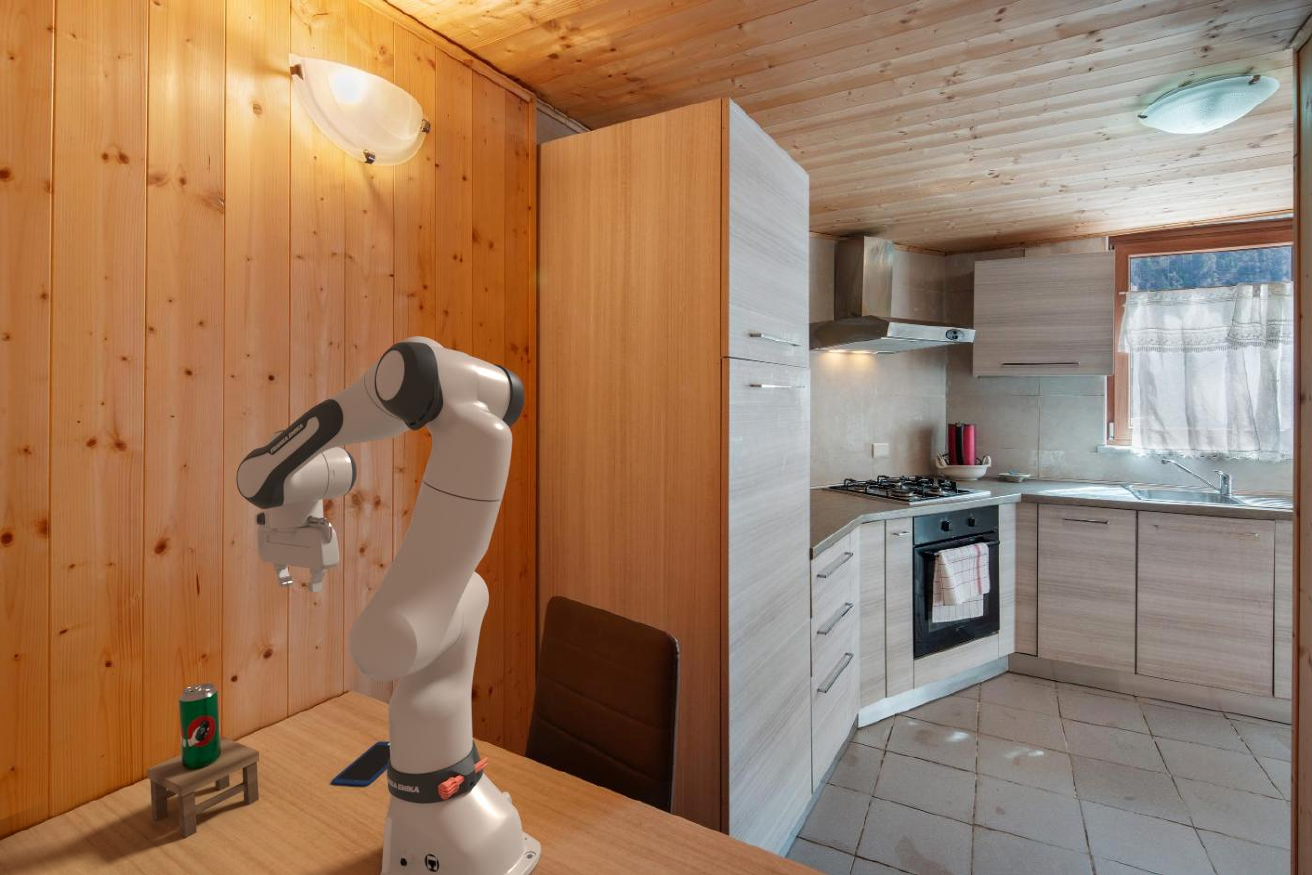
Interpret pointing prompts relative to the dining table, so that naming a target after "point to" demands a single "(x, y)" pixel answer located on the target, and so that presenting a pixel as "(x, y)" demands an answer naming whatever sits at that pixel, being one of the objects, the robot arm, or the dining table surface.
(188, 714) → the soda can
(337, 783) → the cell phone
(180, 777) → the stool
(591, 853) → the dining table surface
